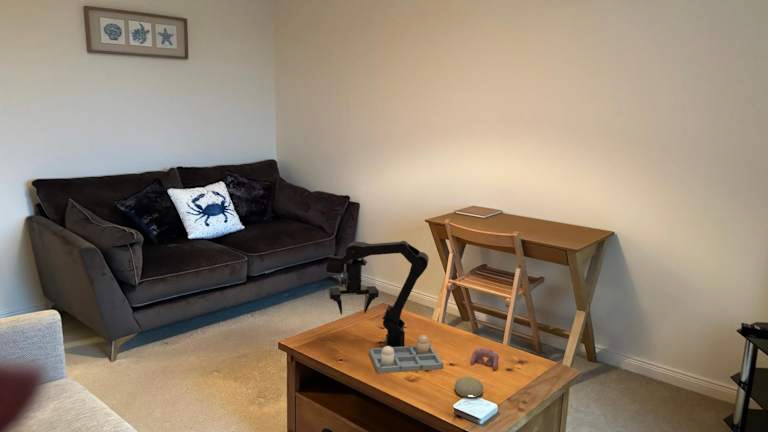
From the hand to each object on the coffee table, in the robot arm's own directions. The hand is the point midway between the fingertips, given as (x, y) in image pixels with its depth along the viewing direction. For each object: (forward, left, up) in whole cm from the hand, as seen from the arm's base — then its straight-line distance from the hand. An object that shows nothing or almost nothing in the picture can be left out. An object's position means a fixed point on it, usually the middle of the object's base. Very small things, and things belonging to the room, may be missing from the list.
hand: (352, 313), depth 229 cm
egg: (-9, +23, -12) cm, 27 cm away
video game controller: (-45, +26, -12) cm, 53 cm away
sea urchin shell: (-32, +44, -12) cm, 56 cm away
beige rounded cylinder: (-24, +15, -12) cm, 31 cm away
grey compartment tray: (-17, +19, -12) cm, 28 cm away
